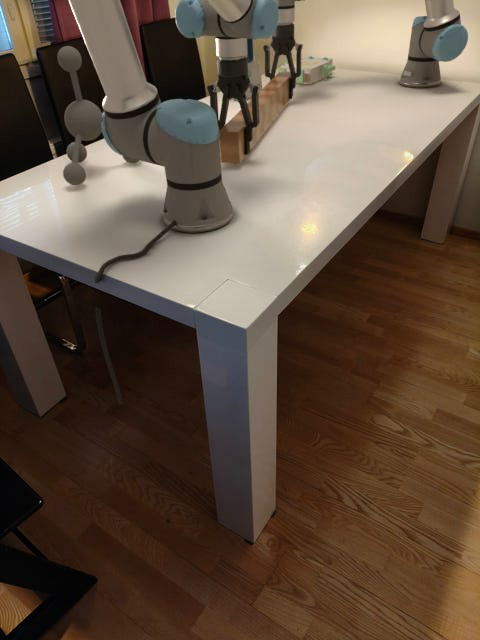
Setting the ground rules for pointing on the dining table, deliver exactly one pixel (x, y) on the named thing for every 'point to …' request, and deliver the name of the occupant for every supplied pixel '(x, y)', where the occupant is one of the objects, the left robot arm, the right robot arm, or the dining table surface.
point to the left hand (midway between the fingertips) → (237, 152)
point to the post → (269, 108)
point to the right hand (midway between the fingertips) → (282, 97)
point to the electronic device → (252, 68)
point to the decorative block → (311, 69)
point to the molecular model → (79, 119)
